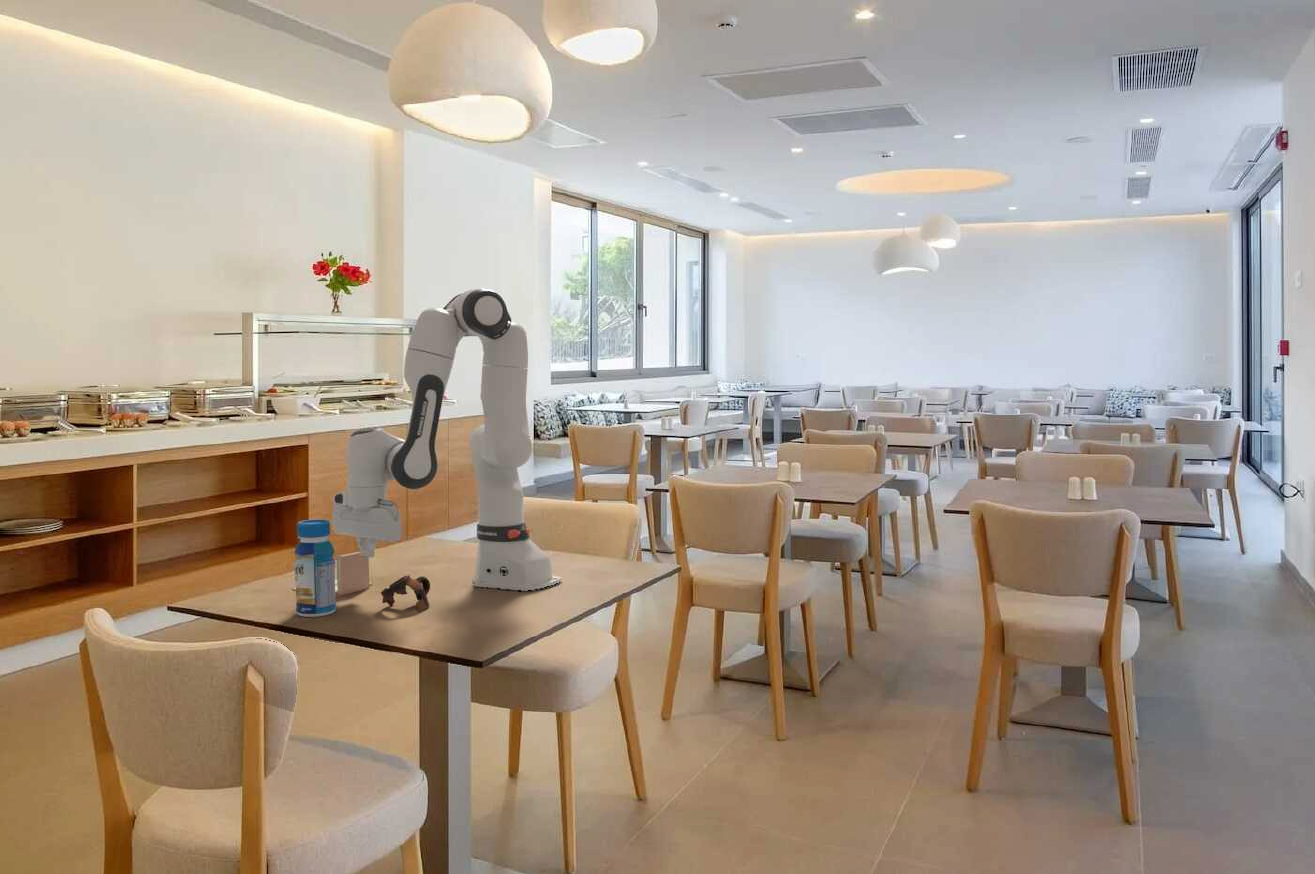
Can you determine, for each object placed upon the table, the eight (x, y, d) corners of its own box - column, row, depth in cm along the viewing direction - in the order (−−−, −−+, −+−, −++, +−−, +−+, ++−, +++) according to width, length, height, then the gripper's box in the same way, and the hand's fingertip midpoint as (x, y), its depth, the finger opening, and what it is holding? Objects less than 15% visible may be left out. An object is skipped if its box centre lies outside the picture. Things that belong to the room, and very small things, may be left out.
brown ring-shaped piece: (416, 617, 212) (395, 585, 211) (388, 631, 217) (368, 599, 216) (448, 591, 222) (428, 560, 222) (420, 605, 227) (401, 575, 226)
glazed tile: (369, 588, 237) (368, 551, 237) (342, 594, 231) (340, 556, 230) (364, 587, 238) (363, 550, 238) (337, 594, 232) (336, 556, 231)
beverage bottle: (336, 616, 211) (333, 523, 210) (294, 619, 209) (291, 525, 207) (337, 606, 219) (334, 517, 218) (296, 609, 217) (293, 519, 215)
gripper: (408, 500, 226) (408, 559, 227) (349, 492, 237) (349, 549, 238) (386, 502, 221) (386, 564, 222) (327, 495, 232) (327, 553, 233)
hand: (367, 556), depth 230 cm, fingers closed
